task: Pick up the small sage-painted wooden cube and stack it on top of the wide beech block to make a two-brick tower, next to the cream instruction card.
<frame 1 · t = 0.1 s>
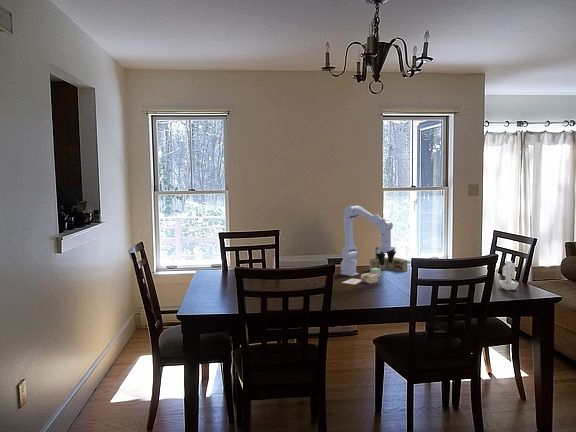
hand: (386, 264, 266), 10 cm above the table, fingers open, 7 cm apart
instruction card: (353, 281, 267), on the table
beech base: (369, 281, 266), on the table, touching instruction card
toy kitchen set: (388, 271, 295), on the table
sage cube: (375, 276, 278), on the table
figurine: (508, 289, 239), on the table
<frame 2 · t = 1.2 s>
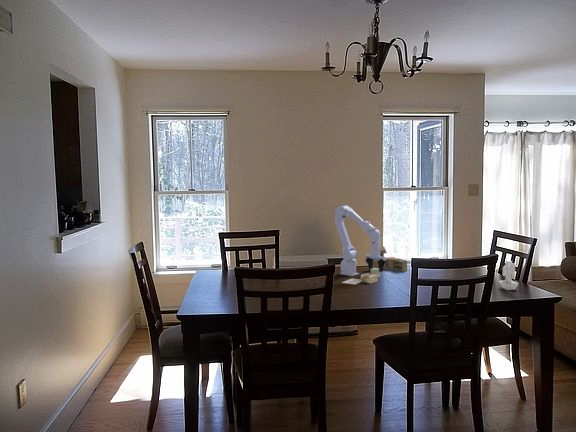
hand: (375, 270, 278), 4 cm above the table, fingers open, 7 cm apart
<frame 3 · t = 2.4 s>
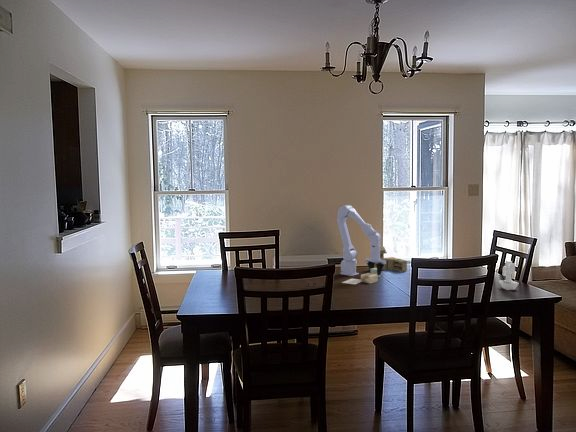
hand: (375, 274, 278), 1 cm above the table, fingers closed on sage cube, 4 cm apart
sage cube: (375, 276, 278), on the table, touching gripper
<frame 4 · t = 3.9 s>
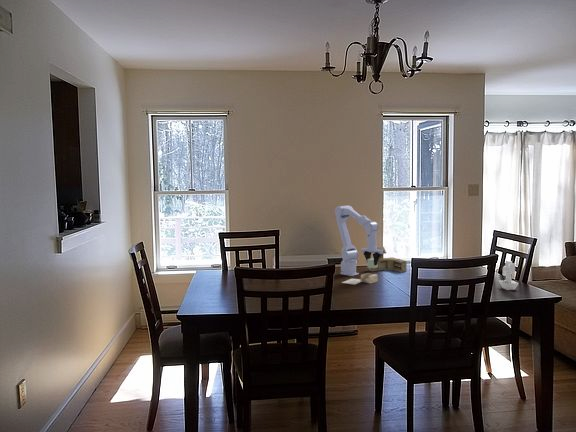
hand: (372, 264, 271), 9 cm above the table, fingers closed on sage cube, 4 cm apart
sage cube: (372, 267, 271), point 7 cm above the table, touching gripper
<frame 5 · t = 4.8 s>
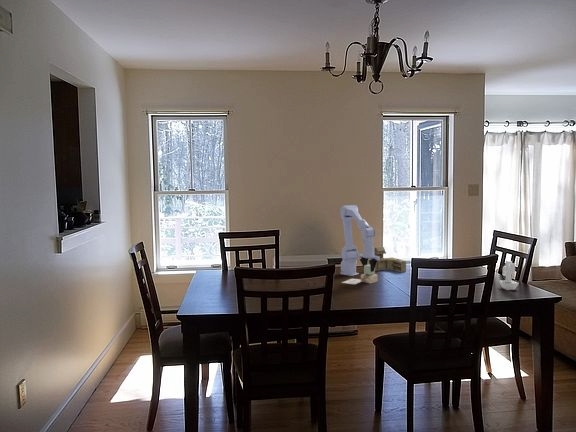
hand: (368, 270, 265), 6 cm above the table, fingers closed on sage cube, 4 cm apart
sage cube: (369, 273, 266), point 5 cm above the table, touching gripper
when the fingers open (6 cm above the table, at t = 5.6 s): sage cube stays where it is, resting on beech base.
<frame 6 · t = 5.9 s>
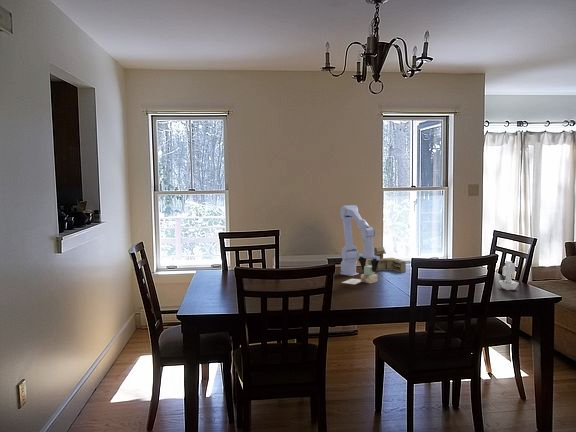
hand: (368, 270, 265), 6 cm above the table, fingers open, 7 cm apart
beech base: (369, 281, 266), on the table, touching instruction card, sage cube
sage cube: (369, 274, 266), point 4 cm above the table, touching beech base
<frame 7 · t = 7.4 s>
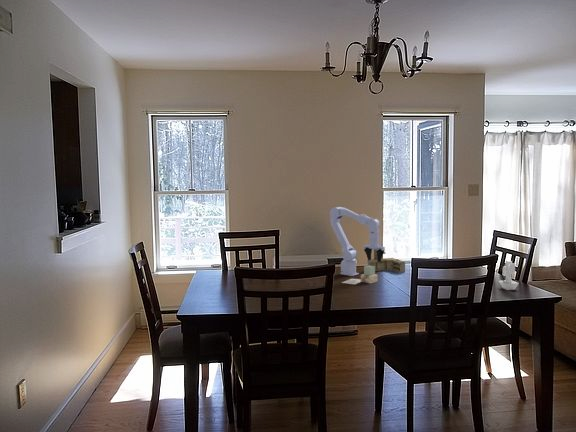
hand: (374, 260, 277), 10 cm above the table, fingers open, 7 cm apart
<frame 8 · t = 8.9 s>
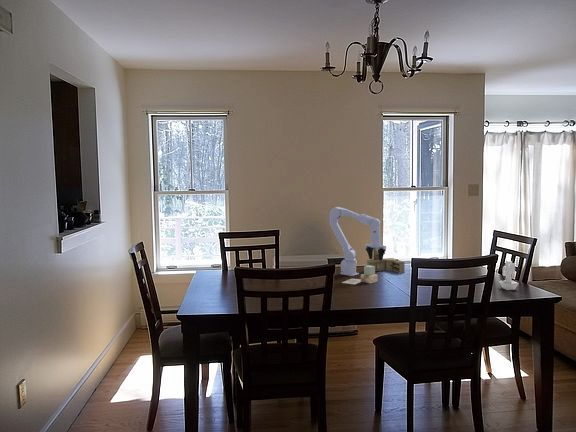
hand: (375, 259, 281), 10 cm above the table, fingers open, 7 cm apart
at the end: sage cube 0.4 cm off-centre on the beech base, point 4.0 cm above the beech base's base; sage cube tilted 2°; beech base moved 0.1 cm from its start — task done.
